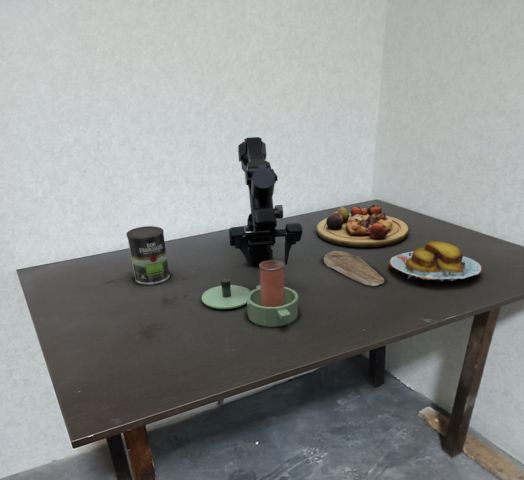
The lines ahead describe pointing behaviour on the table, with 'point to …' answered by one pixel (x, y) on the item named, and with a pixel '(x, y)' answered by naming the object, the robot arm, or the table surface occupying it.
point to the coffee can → (148, 255)
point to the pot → (272, 309)
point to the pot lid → (225, 296)
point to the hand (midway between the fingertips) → (268, 265)
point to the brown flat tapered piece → (353, 268)
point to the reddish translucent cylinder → (272, 283)
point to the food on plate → (436, 262)
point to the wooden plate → (362, 227)
